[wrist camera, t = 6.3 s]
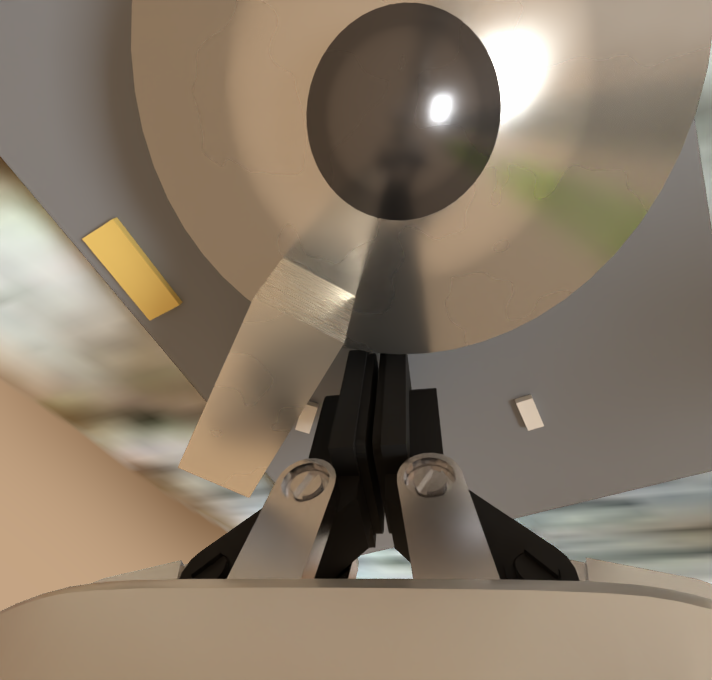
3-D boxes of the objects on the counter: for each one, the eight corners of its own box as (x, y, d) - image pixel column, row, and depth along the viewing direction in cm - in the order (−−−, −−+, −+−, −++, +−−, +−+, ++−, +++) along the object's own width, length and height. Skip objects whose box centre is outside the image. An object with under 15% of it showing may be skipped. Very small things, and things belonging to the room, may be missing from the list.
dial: (285, -402, 6) (135, -1033, 3) (774, -9, 8) (1073, -91, 4) (110, 309, 13) (-2, 391, 9) (398, 445, 14) (397, 560, 11)
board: (-91, -6, 10) (-157, -20, 9) (655, -843, 5) (730, -1122, 4) (343, 535, 19) (339, 564, 18) (781, 420, 14) (817, 451, 13)
